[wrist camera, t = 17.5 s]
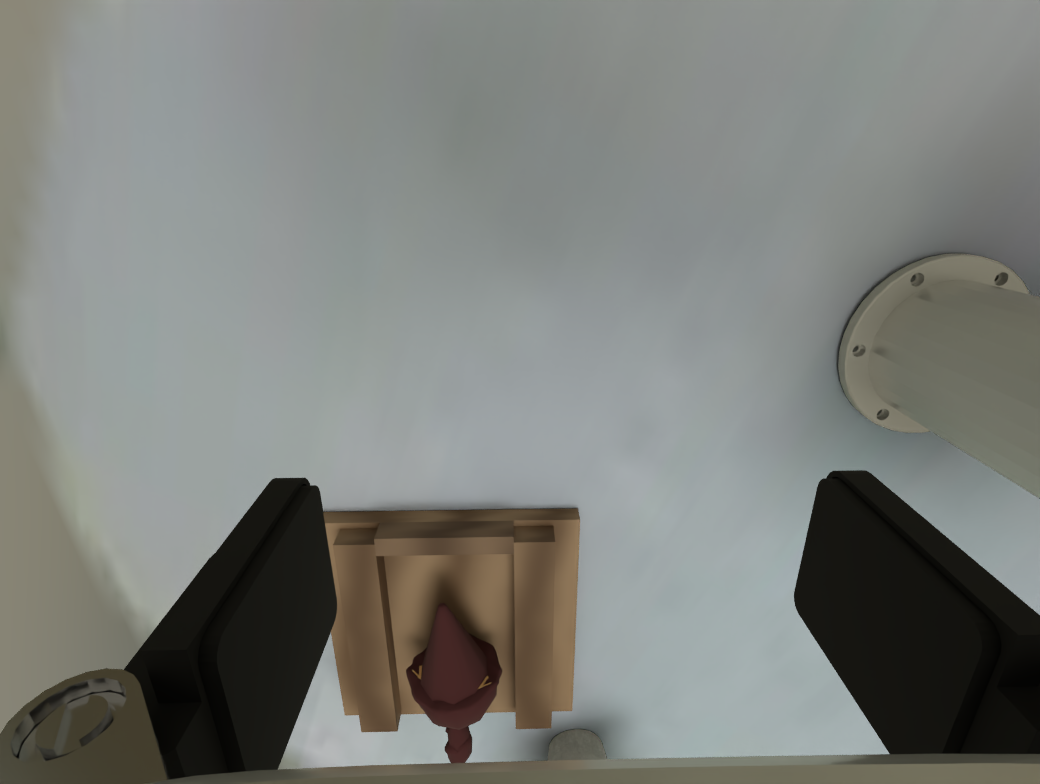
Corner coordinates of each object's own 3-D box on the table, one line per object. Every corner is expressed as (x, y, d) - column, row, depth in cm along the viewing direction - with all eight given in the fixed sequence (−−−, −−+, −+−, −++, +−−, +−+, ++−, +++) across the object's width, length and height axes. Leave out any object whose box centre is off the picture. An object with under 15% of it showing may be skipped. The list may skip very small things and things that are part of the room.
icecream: (372, 639, 38) (409, 769, 45) (476, 655, 36) (499, 788, 43) (412, 564, 44) (440, 689, 51) (503, 575, 42) (519, 703, 49)
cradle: (577, 508, 44) (583, 535, 40) (570, 696, 51) (574, 731, 48) (319, 512, 43) (303, 539, 40) (349, 700, 51) (338, 736, 47)
